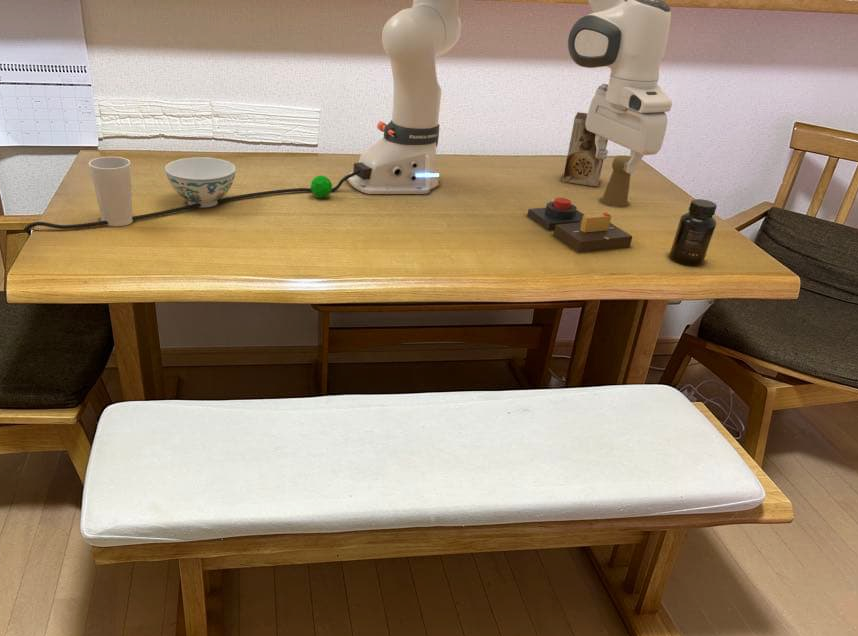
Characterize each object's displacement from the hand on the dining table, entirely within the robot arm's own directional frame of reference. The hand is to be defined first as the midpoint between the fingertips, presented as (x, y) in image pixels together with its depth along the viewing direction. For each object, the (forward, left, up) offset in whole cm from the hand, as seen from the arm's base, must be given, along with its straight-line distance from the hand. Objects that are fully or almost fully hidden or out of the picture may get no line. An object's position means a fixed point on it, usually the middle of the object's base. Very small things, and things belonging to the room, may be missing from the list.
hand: (614, 165), depth 152 cm
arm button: (-2, +12, -13) cm, 18 cm away
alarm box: (-2, +12, -16) cm, 20 cm away
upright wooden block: (-1, 0, -14) cm, 14 cm away
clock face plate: (-1, 0, -16) cm, 16 cm away
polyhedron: (-50, +38, -16) cm, 65 cm away
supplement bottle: (+13, -13, -16) cm, 25 cm away
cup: (-96, +33, -16) cm, 103 cm away
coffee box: (+20, +36, -16) cm, 44 cm away
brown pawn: (+19, +20, -16) cm, 32 cm away
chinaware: (-77, +40, -16) cm, 88 cm away
